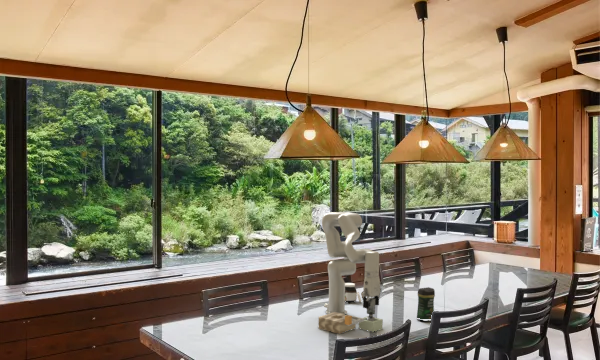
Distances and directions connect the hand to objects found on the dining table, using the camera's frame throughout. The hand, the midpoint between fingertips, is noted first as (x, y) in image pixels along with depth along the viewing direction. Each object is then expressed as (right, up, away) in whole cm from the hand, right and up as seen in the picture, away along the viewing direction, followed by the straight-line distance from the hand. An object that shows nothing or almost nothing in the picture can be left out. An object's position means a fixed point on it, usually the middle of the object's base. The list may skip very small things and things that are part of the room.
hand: (371, 306), depth 259 cm
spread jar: (-3, -13, +59) cm, 60 cm away
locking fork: (-13, -5, -10) cm, 17 cm away
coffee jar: (+34, -13, +18) cm, 41 cm away
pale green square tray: (0, -12, 0) cm, 12 cm away
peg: (0, -12, 0) cm, 12 cm away
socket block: (-18, -11, -1) cm, 22 cm away
